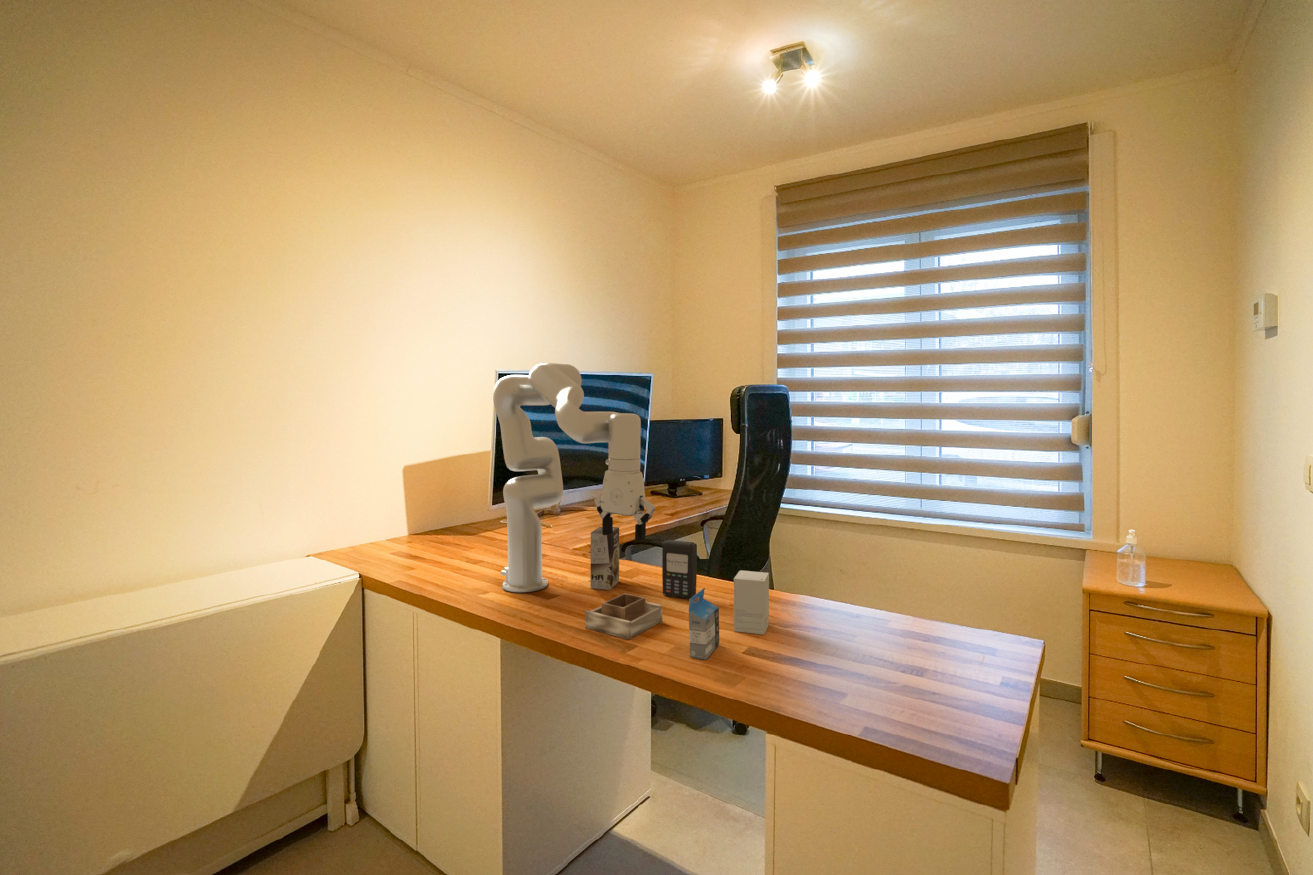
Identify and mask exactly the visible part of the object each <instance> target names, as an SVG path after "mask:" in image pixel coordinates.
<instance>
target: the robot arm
mask: <svg viewBox="0 0 1313 875" xmlns="http://www.w3.org/2000/svg"><path fill="white" fill-rule="evenodd" d="M582 382H583V381H582V375H581V372H580V371H579V370H578V368H576V367H575V366H574V365H572V364H568V363H555V362H554V363H553V362H542V363H539V364H536V365H535V366H533V367H532V369H531V370H530V371H529V374H510V375H506V376H503V377H501V378H499V379H498V380H497V381H496V383H495V385H494V388H493V393H492V395H493V396H492V400H493V406H494V409H495V413H496V415H497V418H498V422H499V426H500V433H501V434H500V435H501V441H502V442H501V443H502V450H503V457H504V462H505V466H506V468H507V469H509V471H512V472H527V471H537V474H528V475H520V476H515V477H513V478H510V479H508V481H507V482H506V483H505V484H504V486H503V489H502V490H503V491H502V494H503V500H504V501H503V502H504V506H505V511H506V513H505V514H506V520H507V521H506V523H507V527H506V528H507V530H506V531H507V566H505V567H504V568H503V570H501V571H500V575H501V576H503V577H504V576H505V580H504V581H503V582H502V588H503V590H505V591H507V592H510V593H511V592H512V593H531V592H536V591H541V590H543V589H545V588H546V587H547V586H548V579H547V578H546V577H543V553H542V552H543V551H542V550H543V549H542V548H543V547H542V546H543V542H542V541H543V540H542V539H543V534H542V533H543V531H542V530H543V528H542V521H541V519H540V516H538V514H537V512H536V511H535V509H539V508H546V507H551V506H552V507H553V506H555V505H557V504H559V503H560V502H561V501H562V499H563V496H564V483H563V475H562V468H561V460H560V453H559V449H558V447H557V445H556V443H555V442H554V440H552V439H551V438H549V437H545V436H537V437H536V436H534V435H533V431H532V424H531V421H530V418H529V417H528V415H527V413H526V412H525V411H524V409H522V408H521V406H549V405H551V406H552V407H553V408H555V409H554V416H555V419H556V423H557V425H558V427H559V428H560V429H561V430H562V432H564V433H565V434H566V435H567V436H568V437H569V438H571V439H572V440H573V441H575V442H577V443H580V444H595V443H598V444H599V443H608V452H607V453H608V458H607V459H606V460H605V464H606V466H607V467H608V468H607V469H608V470H605V471H604V475H603V476H604V477H603V481H602V489H601V495H599V496H597V497H595V498H594V499H593V500H594V501H593V502H594V504H595V507H596V511H597V512H598V514H599V516H600V518H601V519H602V522H601V523H602V524H601V527H602V530H603V535H608V534H611V533H613V527H614V525H613V524H614V522H613V521H614V519H613V516H612V515H620V516H627V517H631V516H632V517H633V518H634V519H635V522H636V523H635V525H634V530H635V531H634V532H635V533H634V540H635V542H641V541H644V540H645V539H646V534H647V533H646V532H647V528H646V527H647V526H646V525H647V523H649V521H650V519H652V517H653V514H654V512H655V510H656V506H655V505H654V504H653V503H652V502H650V501H649V500H648V499H646V491H645V489H646V488H645V482H644V477H643V472H642V471H641V436H642V434H641V433H642V431H641V425H642V423H641V417H640V416H639V415H638V414H636V413H630V412H629V413H627V412H625V413H624V412H623V413H622V412H616V411H599V410H598V411H597V410H596V411H583V410H581V409H580V407H581V406H582V404H583V402H584V396H585V393H584V389H583V388H582V387H581V386H582ZM645 510H646V511H645Z"/></svg>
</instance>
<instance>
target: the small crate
mask: <svg viewBox="0 0 1313 875" xmlns="http://www.w3.org/2000/svg"><path fill="white" fill-rule="evenodd" d="M646 602H647V597H643V596H639V595H634V594H630V593H625V592H624V593H622V594H619V595H617V596H614V597H612V598H610V599H608V600H607V601H604V602H602V603H601V606H602V614H604V615H608V616H612V617H616V618H620V619H624V620H628V621H632V620H634V619H636V618H638V617H640V616H642V615H644V614H646Z"/></svg>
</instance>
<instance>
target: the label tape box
mask: <svg viewBox="0 0 1313 875" xmlns="http://www.w3.org/2000/svg"><path fill="white" fill-rule="evenodd" d="M705 590H706V588H705V587H703V588H701V590H699V591H698V592H696V594H695V595H694V596H693V597H692V598H691V599H688V600H689V601H688V632H689V634H688V636H689V637H688V638H689V639H688V640H689V657H690V658H694V659H699V660H707V659H708V658H709V657H710V656H711V654H712V653H713V652H714V651H715V650H716V649H717V647H718V646H720V611H719V610H720V607H718V606H717V605H715V604H714V603H712V602H710V601H708V600H706V599H705V598H704V596H705ZM697 599H698V600H697Z"/></svg>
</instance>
